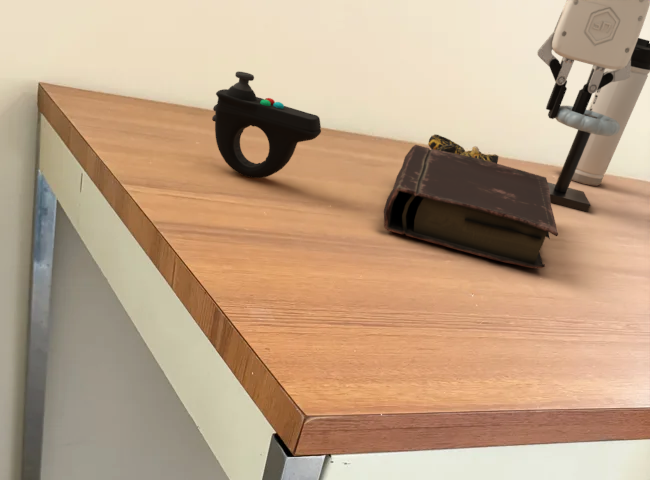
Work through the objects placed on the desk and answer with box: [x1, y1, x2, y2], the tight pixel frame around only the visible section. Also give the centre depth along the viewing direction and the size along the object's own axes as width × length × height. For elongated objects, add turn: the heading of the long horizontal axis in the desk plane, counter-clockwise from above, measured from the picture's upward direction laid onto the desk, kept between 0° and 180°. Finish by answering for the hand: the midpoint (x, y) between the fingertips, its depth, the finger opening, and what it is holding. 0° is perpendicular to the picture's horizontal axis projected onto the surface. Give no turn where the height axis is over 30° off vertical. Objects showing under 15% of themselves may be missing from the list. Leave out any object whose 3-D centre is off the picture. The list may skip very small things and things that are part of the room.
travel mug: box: [571, 37, 650, 187], centre depth 128 cm, size 6×7×20 cm
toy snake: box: [427, 133, 499, 164], centre depth 120 cm, size 18×5×10 cm
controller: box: [211, 71, 322, 179], centre depth 93 cm, size 4×12×10 cm, turn 71°
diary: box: [383, 144, 559, 269], centre depth 96 cm, size 19×25×5 cm
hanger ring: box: [555, 105, 620, 136], centre depth 113 cm, size 9×9×2 cm
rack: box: [547, 114, 597, 213], centre depth 116 cm, size 8×8×11 cm
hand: (561, 118), depth 113 cm, fingers closed on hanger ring, 2 cm apart
